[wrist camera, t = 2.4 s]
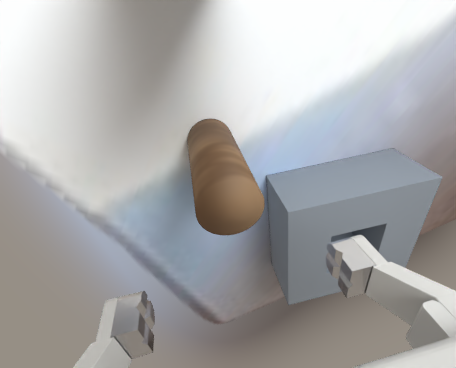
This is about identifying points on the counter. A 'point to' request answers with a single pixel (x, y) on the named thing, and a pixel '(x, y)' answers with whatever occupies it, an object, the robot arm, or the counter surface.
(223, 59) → the counter surface
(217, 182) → the walnut peg
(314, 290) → the socket block
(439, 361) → the robot arm
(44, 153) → the counter surface
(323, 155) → the counter surface
